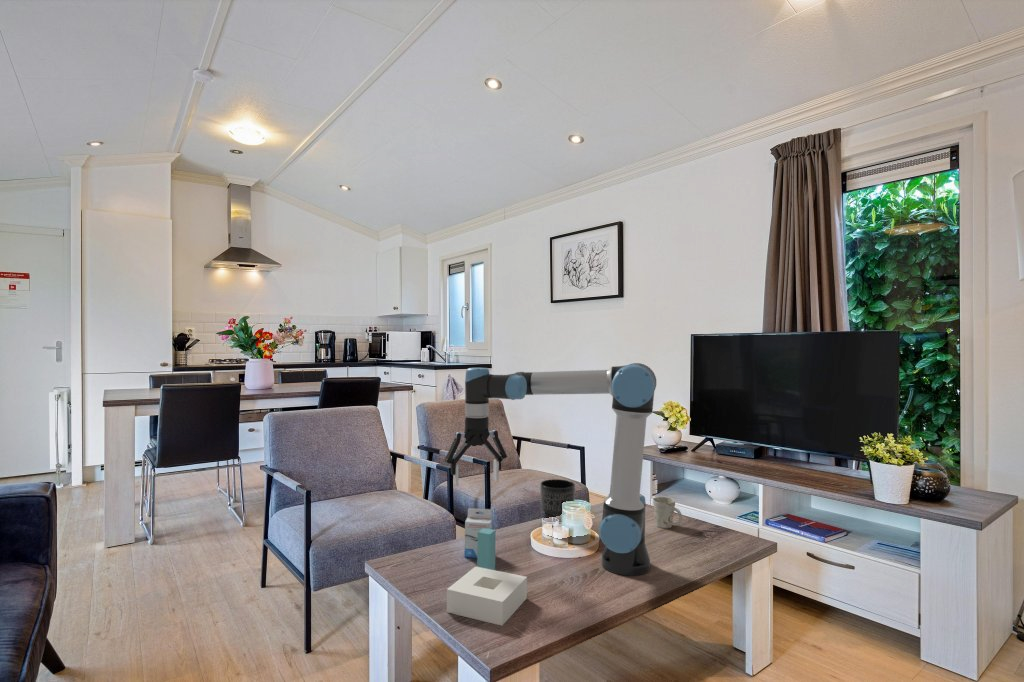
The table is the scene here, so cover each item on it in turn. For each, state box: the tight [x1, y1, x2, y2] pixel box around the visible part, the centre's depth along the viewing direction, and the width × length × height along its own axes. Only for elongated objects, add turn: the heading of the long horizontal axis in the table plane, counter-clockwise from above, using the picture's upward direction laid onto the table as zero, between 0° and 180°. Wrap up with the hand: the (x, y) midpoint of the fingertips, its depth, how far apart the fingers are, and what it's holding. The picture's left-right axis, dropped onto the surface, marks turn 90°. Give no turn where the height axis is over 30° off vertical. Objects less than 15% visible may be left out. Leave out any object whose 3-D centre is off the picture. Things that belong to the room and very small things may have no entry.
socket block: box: [446, 565, 528, 626], centre depth 149 cm, size 16×16×6 cm
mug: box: [652, 496, 683, 529], centre depth 213 cm, size 8×13×10 cm, turn 40°
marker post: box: [476, 528, 497, 570], centre depth 166 cm, size 4×4×14 cm
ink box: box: [463, 507, 493, 559], centre depth 183 cm, size 9×5×15 cm, turn 84°
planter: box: [539, 478, 576, 519], centre depth 207 cm, size 13×13×18 cm
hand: (476, 482), depth 177 cm, fingers open, 13 cm apart
